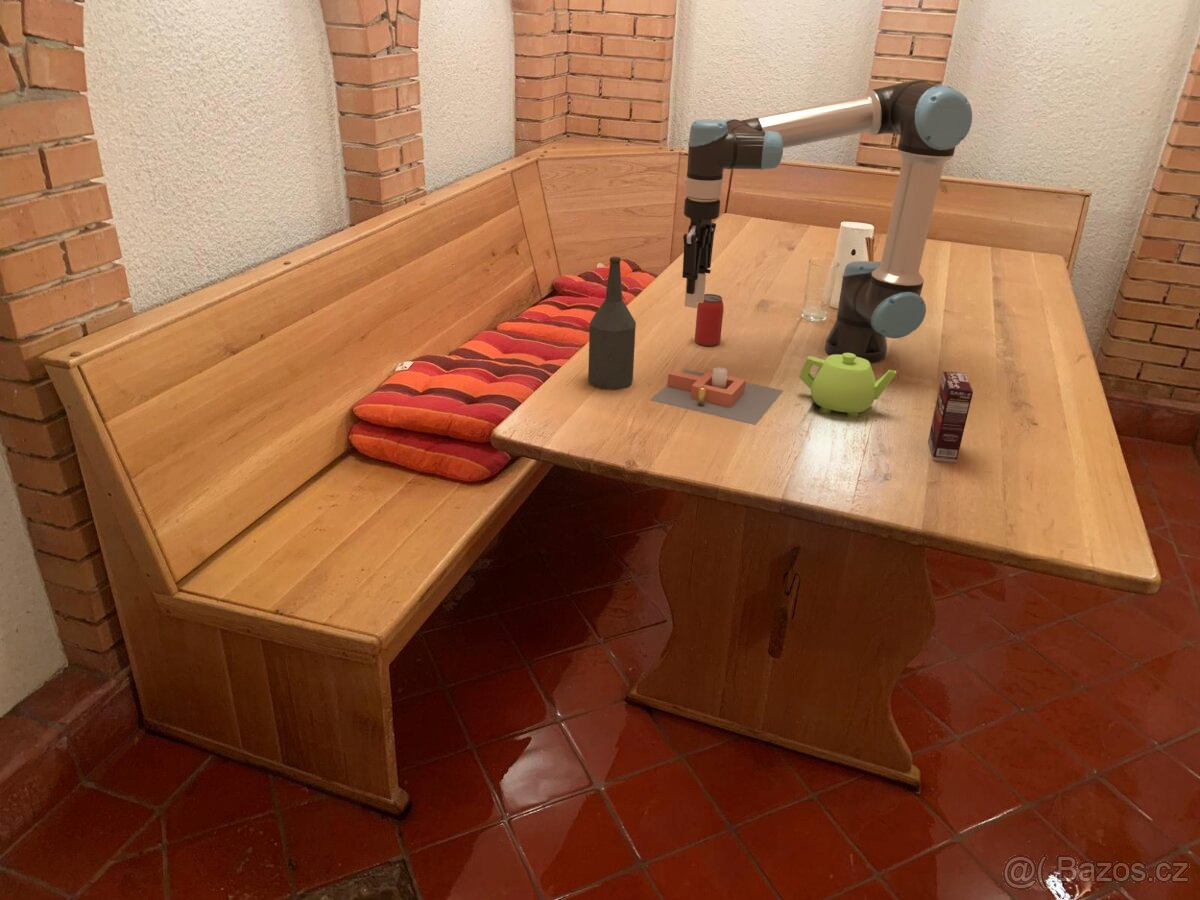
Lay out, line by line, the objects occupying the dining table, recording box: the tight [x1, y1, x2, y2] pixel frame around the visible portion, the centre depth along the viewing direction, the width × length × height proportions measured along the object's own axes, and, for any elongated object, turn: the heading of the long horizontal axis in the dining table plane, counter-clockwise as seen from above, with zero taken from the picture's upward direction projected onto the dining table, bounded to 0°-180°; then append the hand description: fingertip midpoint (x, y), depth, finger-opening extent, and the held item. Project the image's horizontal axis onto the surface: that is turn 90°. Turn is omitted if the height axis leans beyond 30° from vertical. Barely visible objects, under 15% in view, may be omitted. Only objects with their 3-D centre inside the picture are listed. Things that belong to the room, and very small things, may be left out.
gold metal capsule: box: [697, 386, 706, 406], centre depth 195 cm, size 2×2×4 cm
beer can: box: [694, 293, 725, 347], centre depth 231 cm, size 7×7×12 cm
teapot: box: [798, 353, 897, 419], centre depth 198 cm, size 20×13×13 cm
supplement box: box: [927, 371, 974, 464], centre depth 179 cm, size 9×5×16 cm, turn 169°
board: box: [649, 366, 784, 426], centre depth 200 cm, size 24×20×8 cm
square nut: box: [666, 370, 747, 407], centre depth 202 cm, size 16×9×3 cm, turn 63°
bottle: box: [587, 256, 637, 391], centre depth 200 cm, size 10×10×30 cm
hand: (694, 304), depth 203 cm, fingers open, 3 cm apart
